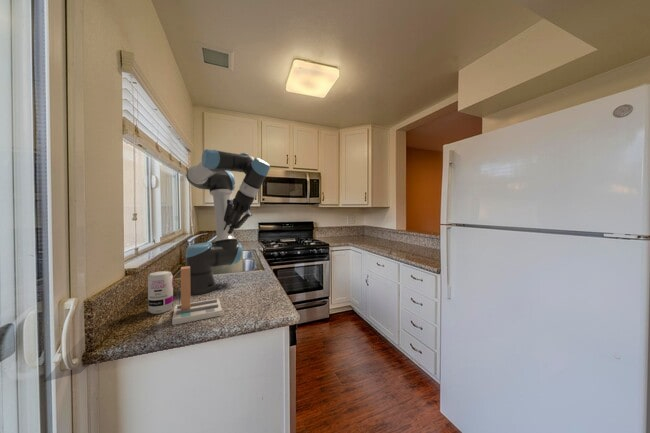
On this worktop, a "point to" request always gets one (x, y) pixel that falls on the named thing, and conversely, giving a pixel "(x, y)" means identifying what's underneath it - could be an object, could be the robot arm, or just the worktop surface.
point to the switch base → (197, 311)
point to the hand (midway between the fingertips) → (224, 237)
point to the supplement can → (160, 292)
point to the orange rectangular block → (185, 288)
